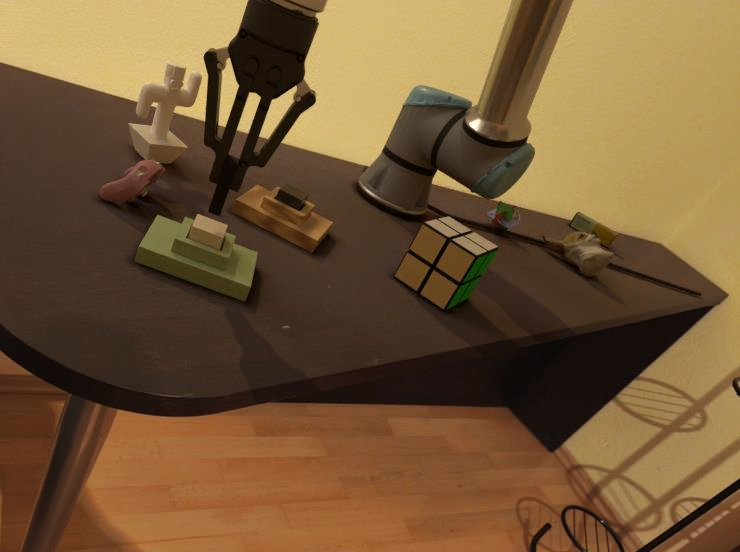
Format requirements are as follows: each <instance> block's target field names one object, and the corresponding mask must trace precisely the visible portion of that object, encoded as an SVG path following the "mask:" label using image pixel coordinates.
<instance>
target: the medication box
mask: <svg viewBox="0 0 740 552" xmlns="http://www.w3.org/2000/svg"><path fill="white" fill-rule="evenodd" d="M568 226H570V227H571V228H573V229H575V230H576V231H579V232H584V233H587V234H588V235H589V234H590V233H592V232H595V233H596V234H597V235H598V236H599V238H600V241H601V243H600V245H603V246H604V247H606V248H610V247H611V246H612V244H613V243H614V242H615V240H616V238H617V237H618V236H619V232H617V231H615V230H613V229H611V228H610V227H608V226H606V225H604V224H602V223H601V222H599V221H597V220H595V219H594V218H592V217H590V216H588V215H586V214H584V213H582V212H581V211H577V212H575V214H574V216H573V217H572V219H571V221H569V223H568Z"/></svg>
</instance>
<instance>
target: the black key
mask: <svg viewBox="0 0 740 552" xmlns="http://www.w3.org/2000/svg"><path fill="white" fill-rule="evenodd" d="M309 195H310V194H309V193H307V192H305V191H303V190H301V189H299V188H297V187H295V186H293V185H291V184H289V183H287V182H286V183H285V184H284V185H282V186H281V187H280V189H279V190H278V193H277V195H276V198H275V199H276V200H278V201H280V202H282V203H284V204H286V205H288V206H290V207H292V208H294V209H296V210H298V211H299V210H300V209H301V208H302V207H303V206H304V205H305V203H306V201H308V197H310V196H309Z"/></svg>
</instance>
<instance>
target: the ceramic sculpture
mask: <svg viewBox="0 0 740 552" xmlns="http://www.w3.org/2000/svg"><path fill="white" fill-rule="evenodd" d="M541 238H542V241H545V243H546V245H547V246H546V247H548V248H549V249H550V251H552V252H553V253H555V254H558V255H560V256H561V258H562V259H563V260H564V261H565V262H567V263H568V264H569V265H571V266H574V267H575V266H576V267H578V268H579V273H580V274H581V275H583V276H585V277H588V278H589V277H592V276H593V277H594V276H597V274H599V273H601V271H603V270H604V269H606V267H607V266H608V264H609V262H611V261H612V260H613V258H614V257H615V252H611V251H608V250H607V251H606V250H604V249H603V248H602V247H601V241H600V238H599V236H598V235H597V234H596V233H595V232H592V233H590V234H589V235H588V234H587V233H584V232H580V231H578V230H576V231H573V232H570V233H568V234H567V235H566V236H565V237H564V239H563V240H558V239H557V238H549V237H547V236H545V235H543V234H542V235H541Z"/></svg>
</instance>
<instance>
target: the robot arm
mask: <svg viewBox="0 0 740 552" xmlns="http://www.w3.org/2000/svg"><path fill="white" fill-rule="evenodd" d="M328 2H329V0H247V3H246V5H245V9H244V11H243V15H242V17H241V21H240V25H239V28H238V31H237V33H236V35H234V37H233V38H232V39H231V40H230V41H229V43H228V45H227V46H224V47H220V48H219V47H218V48H215V47H209V49H208V50H206V51H205V52H204V54H203V63H204V66H205V70H206V74H207V87H206V98H205V99H206V101H205V116H204V130H203V131H204V133H203V145H204V146H205V147H207V148H210V149H211V150H212V151H213V152H214V154H215V157H214V161H213V163H212V167H211V170H210V173H209V176H208V181H209V182H210V183H213V184H215V189H214V193H213V195H212V198H211V201H210V203H209V207H208V210H207V213H209V214H212V215H214V216H217V217H221V214H222V212H223V209H224V206H225V203H226V200H227V198H228V197H227V196H228V194H229V191H233V192H236V193H238V192H239V191H240V190H241V187H242V184H243V181H244V179H245V177H246V174H247V171H248V169H249V168H251V167H258V168H260V169H262V168H265V167H266V166H267V164H268V162H269V161H270V159H271V158H272V157H273V155H274V154H275V152H276V151H277V149H278V148H279V146H280V145H281V143H282V142H283V141H284V139H285V138H286V136H287V135H288V133H289V132H290V131H291V129H292V127H293V126H294V125H295V123H296V122H297V121H298V119H299V117H300V116H301V115H302V114H304V113H305V112H306V111H307V110H309V109H310V108H311V107H313V106H314V105H315V104H316V101H317V92H316V91H315V90H314V89H312V88H311V87H310V85H309V84H308V83H307V81H306V79H305V76H306V60H307V58H308V54H309V52H310V50H311V46H312V45H313V42H314V39H315V36H316V33H317V31H318V29H319V26H320V22H319V18H318V17H317V16H316V15H317V14H322V13H323V12H325V10H326V7H327V4H328ZM573 3H574V0H511V2H510V4H509V8H508V11H507V14H506V16H505V18H504V19H505V20H504V23H503V26H502V29H501V32H500V35H499V38H498V41H497V44H496V47H495V50H494V53H493V56H492V59H491V62H490V65H489V68H488V71H487V75H486V77H485V81H484V83H483V87H482V89H481V92H480V94H479V99H478V100H477V101H478V102H477V103H476V104H475V105H473V101H471V100H469V99H468V98H465V97H462V96H461V95H457V94H455V93H452V92H449V91H445V90H442V89H439V88H436V87H432V86H428V85H423V84H419V85H415V86H414V87H413V88H412V89H411V90H410V92H409V94H408V96H407V97H406V99H405V101H404V102H403V104H402V107H401V109H400V111H399V114H398V116H397V118H396V120H395V122H394V124H393V126H392V129H391V131H390V133H389V135H388V136H387V140H386V141H385V144H384V146H383V148H382V150H381V152H380V154H379V155H378V156H377V157H376V158H375V160H374V161H373V162H371V164H370V165H369V166H368V165H364V166H363V168H362V170H361V173H362V174H361V175H360V176H359V177H358V180H357V182H356V185H355V188H356V190H357V191H358V193H359V194H360V195H361V196H362V197H363V198H364V199H366V200H367V201H368V202H370V203H371V204H373V205H374V206H375V207H376V206H377V208H380V209H381V210H384V211H386V212H388V213H391V214H393V215H395V216H397V217H398V216H399V217H402V218H404V219H405V218H406V219H410V220H419V219H422V218H423V217H424V215H425V214H426V212H427V210H429V211H431V212H433V213H436V214H438V215H440V216H442V217H443V218H444V217H448V216H449V217H451V218H452V219H454V220H456V221H457V222H459V223H461V224H462V223H463V224H466V225H470V226H474V227H478V228H480V229H484V230H488V231H489V230H490V231H491V232H495V233H496V232H497V233H500V234H502V233H503V234H504V233H505V230H499V229H501V228H497V227H493V226H490V225H491V224H486V223H483V222H479V221H476V220H471V219H467V218H464V217H460V216H457V215H453V214H450V213H448V212H445V211H443V210H441V209H439V208H438V207H435V206H434V205H431V204H430V203H429V200H430V195H431V191H432V190H431V189H432V184H433V180H434V177H435V176H436V173H437V172H438V171H439V172H441V173H442V174H444V175H445V176H447V177H449V178H450V179H452V180H453V181H455V182H456V183H458V184H460V185H461V186H463V187H465V188H467V190H469V191H470V193H472V194H476V195H478V196H480V197H482V198H483V199H486V200H496V199H498V198H500V197H501V196H503V195H504V194H506V193H507V192H508V191H509V190H510V189H512V188H513V186H515V185H516V184H517V182H518V181H519V180H520V179H521V178H522V177H523V176H524V174H525V173H526V172H527V170H528V168H529V167H530V166H531V164H532V162H533V160H534V158H535V155H536V149H535V147H534V146H533V144H532V143H531V142H530V143H528V139H529V136H530V134H531V131H532V123H531V122H530V120H529V118H528V115H529V112H530V110H531V108H532V106H533V103H534V100H535V98H536V95H537V93H538V90H539V88H540V85H541V83H542V80H543V78H544V75H545V73H546V71H547V68H548V65H549V63H550V60H551V59H552V56H553V52H554V50H555V48H556V45H557V43H558V40H559V38H560V36H561V33H562V30H563V28H564V25H565V23H566V20H567V18H568V15H569V13H570V11H571V8H572V6H573ZM228 59H229V60H230V64H231V67H232V71H233V75H234V77H235V81H236V84H237V86H238V88H237V90H236V94H235V97H234V100H233V103H232V106H231V109H230V112H229V116H228V118H227V120H226V124H225V127H224V131H223V133H222V136H221V137H220V136H218V135H219V121H220V120H219V119H220V108H221V96H222V81H223V71H224V70H225V69H226V67H227V65H228ZM295 87H296V90H295V92H294V93H293V94H292V95H293V96H292V99H293V102H292V103H291V104H290V106H289V107H288V109H287V110H286V112H285V113H284V115H283V116H282V117H281V118H280V120H279V122H278V123H277V125H276V127H274V130H273V131H272V133H271V134H270V135H269V137H268V138H267V140H266V141H265V143H264V144H263V146H262V147H261V149H260V150H259V151H255V148H256V146H257V144H258V140H259V137H260V135H261V132H262V129H263V126H264V124H265V121H266V118H267V115H268V112H269V110H270V107H271V104H272V101H273V100H277V99H278V98H280V97H282V96H283V95H284V94H286V93H287V92H289V91H291V90H292V89H293V88H295ZM250 93H251V94H256V95H257V96H258V97H260V99H259V102H258V105H257V108H256V111H255V113H254V116H253V119H252V122H251V124H250V128H249V130H248V133H247V136H246V139H245V141H244V145H243V147H242V150H241V153H240V156H239V158H238V157H236V156H233V155H231V154H230V151H231V148H232V145H233V142H234V140H235V137H236V134H237V131H238V128H239V124H240V122H241V118H242V116H243V113H244V111H245V108H246V104H247V101H248V99H249V96H250ZM506 231H507V232H506V233H507V234H506V236H507V235H508V236H511V237H514V238H518V239H522V240H525V241H528V242H532V243H535V244H539V245H542V246H544V247H545V246H546V247H548V246H547V245H546V243H545V241H544V240H543V239H539V238H535V237H532V236H528V235H525V234H523V233H522V234H521V233H518V232H515V231H512V230H511V231H510V230H509V229H507V230H506ZM503 234H502V235H503ZM607 266H608V267H611V268H614V269H616V270H620V271H623V272H626V273H628V274H631V275H633V276H634V275H635V276H637V277H640V278H643V279H646V280H648V281H651V282H655V283H658V284H661V285H664V286H666V287H670V288H673V289H676V290H679V291H682V292H685V293H689V294H692V295H695V296H698V297H702V295H703V293H702V292H699V291H697V290H694V289H690V288H688V287H684V286H681V285H677V284H675V283H672V282H669V281H666V280H663V279H661V278H660V279H659V278H657V277H654V276H652V275H648V274H645V273H642V272H639V271H637V270H633V269H631V268H627V267H625V266H622V265H619V264H616V263H613V262H611V261H610V262H609V264H608V265H607Z"/></svg>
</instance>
